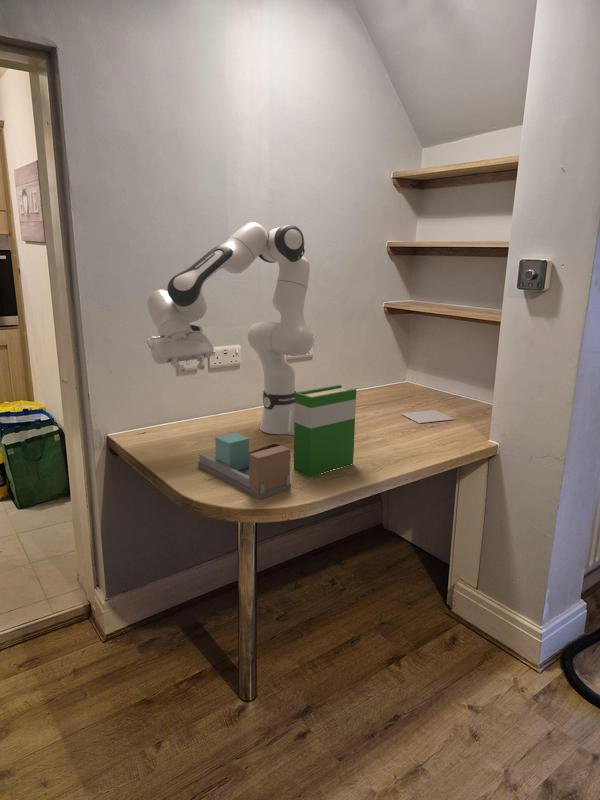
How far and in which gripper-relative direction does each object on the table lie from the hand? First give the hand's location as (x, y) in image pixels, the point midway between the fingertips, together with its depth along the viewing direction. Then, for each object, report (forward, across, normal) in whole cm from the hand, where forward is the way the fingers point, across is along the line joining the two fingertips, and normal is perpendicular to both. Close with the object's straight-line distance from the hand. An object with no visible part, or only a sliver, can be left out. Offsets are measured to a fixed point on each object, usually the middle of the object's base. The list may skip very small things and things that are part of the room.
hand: (192, 370), depth 178 cm
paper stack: (+37, +89, +2) cm, 96 cm away
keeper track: (+38, 0, +1) cm, 38 cm away
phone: (+30, +18, +9) cm, 36 cm away
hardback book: (+44, +24, -5) cm, 51 cm away
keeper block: (+33, 0, +3) cm, 33 cm away
